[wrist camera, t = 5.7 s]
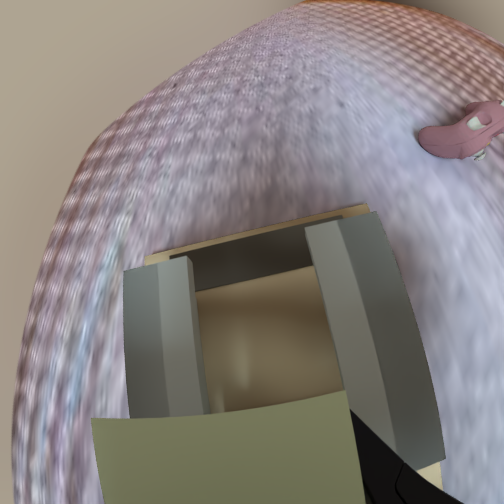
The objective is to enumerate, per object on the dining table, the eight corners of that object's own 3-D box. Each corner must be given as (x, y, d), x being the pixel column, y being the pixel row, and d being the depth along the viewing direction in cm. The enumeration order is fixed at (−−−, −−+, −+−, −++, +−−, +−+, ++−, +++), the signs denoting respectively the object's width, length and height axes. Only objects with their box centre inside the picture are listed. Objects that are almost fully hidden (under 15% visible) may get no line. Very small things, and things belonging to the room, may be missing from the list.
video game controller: (437, 182, 23) (489, 158, 16) (409, 137, 23) (454, 101, 16) (489, 145, 24) (533, 121, 17) (466, 107, 24) (506, 77, 17)
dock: (408, 443, 13) (445, 458, 8) (189, 481, 14) (144, 505, 10) (362, 260, 19) (376, 211, 14) (168, 304, 20) (123, 271, 15)
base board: (439, 566, 8) (444, 572, 7) (204, 603, 10) (199, 609, 9) (365, 211, 21) (367, 202, 20) (150, 262, 23) (144, 255, 22)
